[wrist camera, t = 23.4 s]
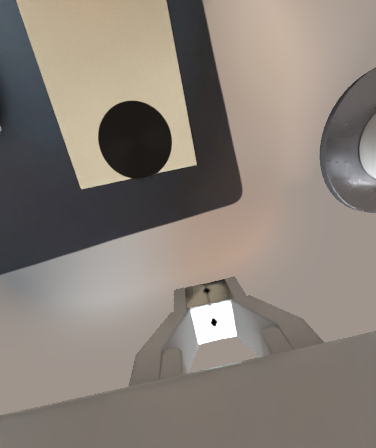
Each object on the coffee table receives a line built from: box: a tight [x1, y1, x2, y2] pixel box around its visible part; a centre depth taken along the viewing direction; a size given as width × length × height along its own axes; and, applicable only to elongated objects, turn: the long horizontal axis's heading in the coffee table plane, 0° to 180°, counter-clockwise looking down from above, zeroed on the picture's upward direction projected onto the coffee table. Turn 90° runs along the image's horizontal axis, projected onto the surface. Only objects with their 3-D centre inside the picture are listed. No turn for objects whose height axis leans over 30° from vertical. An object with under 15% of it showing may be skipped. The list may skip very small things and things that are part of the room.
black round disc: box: [98, 101, 172, 179], centre depth 33 cm, size 13×13×1 cm
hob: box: [16, 0, 197, 189], centre depth 30 cm, size 22×41×1 cm, turn 12°
